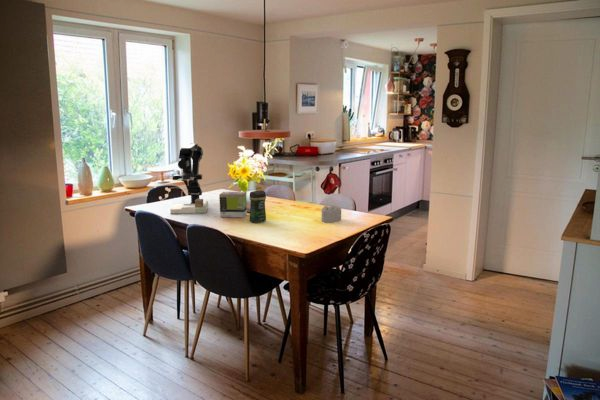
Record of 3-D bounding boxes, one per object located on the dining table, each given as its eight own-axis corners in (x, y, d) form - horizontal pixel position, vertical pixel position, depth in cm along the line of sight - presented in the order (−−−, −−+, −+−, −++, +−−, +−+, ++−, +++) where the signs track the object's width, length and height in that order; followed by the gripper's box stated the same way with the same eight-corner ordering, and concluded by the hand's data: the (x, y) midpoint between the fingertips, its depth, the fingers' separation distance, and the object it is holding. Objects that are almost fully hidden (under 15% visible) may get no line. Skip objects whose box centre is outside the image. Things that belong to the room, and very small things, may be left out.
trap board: (174, 208, 315) (174, 201, 314) (207, 207, 317) (207, 200, 316) (170, 214, 299) (170, 206, 298) (205, 213, 301) (205, 205, 300)
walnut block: (196, 205, 310) (196, 198, 309) (203, 205, 310) (203, 199, 309) (195, 207, 305) (194, 200, 304) (201, 207, 305) (201, 200, 304)
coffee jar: (255, 224, 274) (255, 192, 271) (247, 221, 280) (246, 190, 276) (268, 221, 281) (268, 190, 277) (260, 218, 287) (259, 188, 283)
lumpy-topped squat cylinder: (343, 219, 285) (343, 205, 284) (332, 224, 275) (332, 209, 273) (328, 217, 291) (328, 203, 289) (317, 221, 281) (317, 207, 279)
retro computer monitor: (247, 214, 299) (246, 191, 296) (243, 218, 289) (243, 194, 286) (223, 213, 300) (223, 191, 297) (219, 217, 290) (219, 193, 288)
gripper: (170, 168, 300) (172, 192, 304) (200, 168, 303) (201, 192, 306) (173, 166, 311) (174, 189, 315) (201, 165, 313) (202, 188, 317)
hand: (188, 189), depth 313 cm, fingers closed
